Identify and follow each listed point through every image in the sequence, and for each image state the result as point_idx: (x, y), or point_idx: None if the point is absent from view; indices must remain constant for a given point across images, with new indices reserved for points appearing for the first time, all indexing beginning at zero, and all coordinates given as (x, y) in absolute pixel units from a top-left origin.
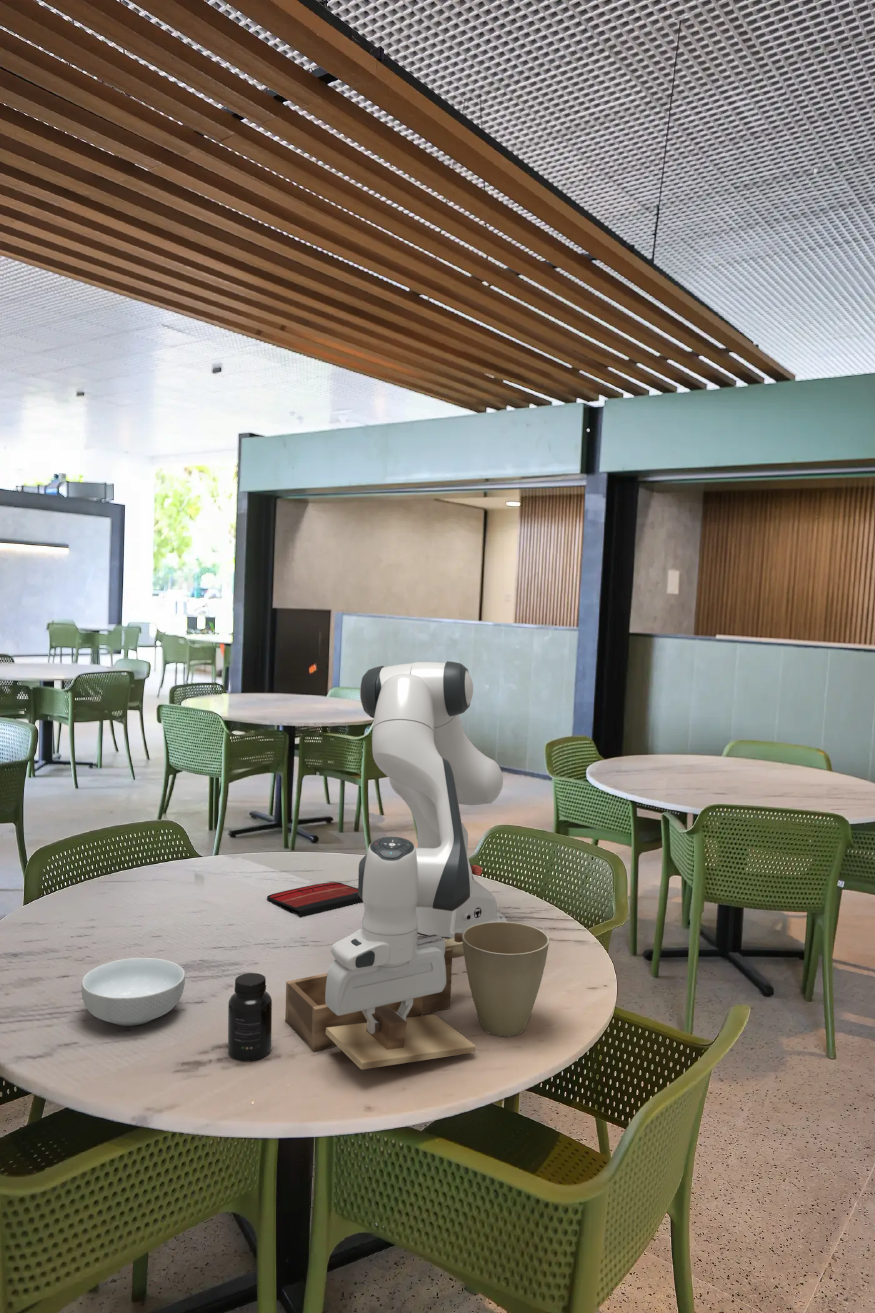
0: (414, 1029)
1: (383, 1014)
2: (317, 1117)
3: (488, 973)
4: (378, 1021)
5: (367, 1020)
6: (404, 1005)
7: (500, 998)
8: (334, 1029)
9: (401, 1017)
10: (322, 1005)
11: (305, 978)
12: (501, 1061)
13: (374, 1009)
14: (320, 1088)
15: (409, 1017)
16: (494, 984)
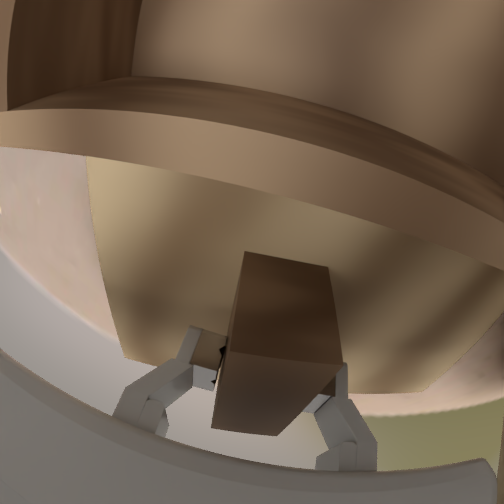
0: (416, 312)
1: (238, 404)
2: (69, 301)
3: (501, 492)
4: (208, 387)
5: (176, 357)
6: (337, 440)
7: (501, 441)
8: (111, 180)
9: (307, 411)
10: (18, 119)
11: None
12: (427, 388)
13: (163, 436)
14: (83, 252)
15: None
16: (500, 469)
